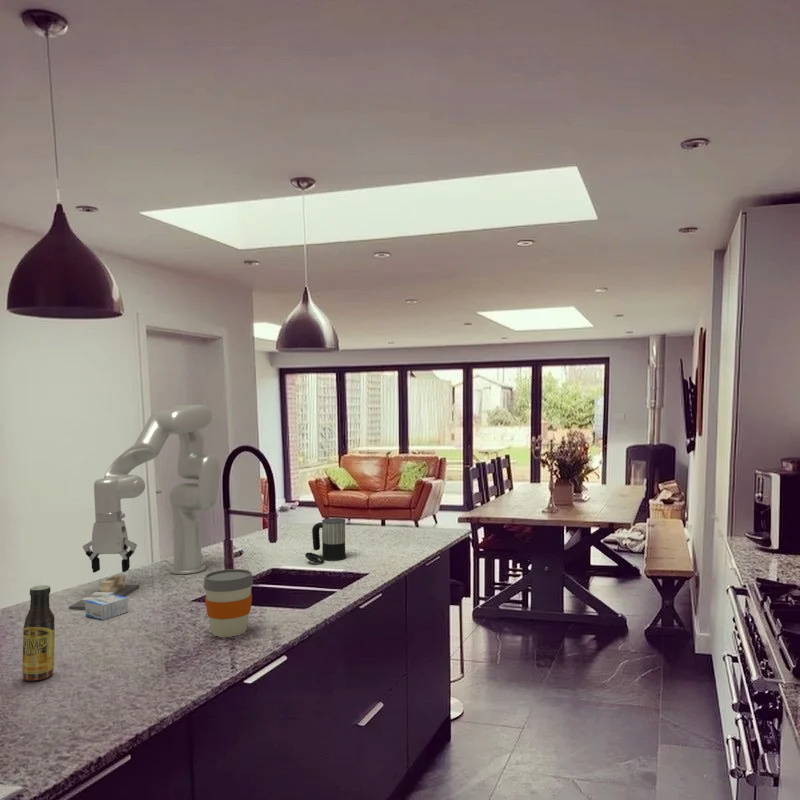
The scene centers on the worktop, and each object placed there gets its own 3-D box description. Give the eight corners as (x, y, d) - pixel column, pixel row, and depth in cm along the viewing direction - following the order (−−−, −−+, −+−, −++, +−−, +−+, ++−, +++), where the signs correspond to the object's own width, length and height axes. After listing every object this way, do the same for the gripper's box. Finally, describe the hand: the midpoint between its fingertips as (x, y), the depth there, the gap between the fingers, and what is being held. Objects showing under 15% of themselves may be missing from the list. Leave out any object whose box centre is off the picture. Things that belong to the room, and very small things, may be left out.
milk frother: (348, 555, 263) (348, 517, 263) (340, 565, 247) (339, 525, 247) (313, 555, 265) (312, 517, 265) (302, 565, 249) (301, 525, 249)
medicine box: (128, 596, 196) (102, 604, 189) (128, 612, 196) (102, 620, 189) (111, 593, 200) (84, 601, 193) (111, 608, 200) (84, 616, 193)
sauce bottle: (16, 683, 146) (15, 591, 147) (31, 671, 153) (29, 584, 153) (47, 681, 147) (46, 590, 147) (60, 670, 153) (59, 583, 153)
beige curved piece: (111, 587, 220) (111, 574, 220) (129, 587, 220) (129, 574, 220) (81, 603, 202) (81, 590, 202) (100, 603, 202) (100, 590, 202)
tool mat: (110, 587, 223) (110, 584, 223) (139, 587, 223) (139, 584, 223) (68, 610, 199) (68, 606, 199) (101, 610, 199) (101, 606, 199)
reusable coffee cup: (212, 624, 183) (210, 569, 183) (258, 623, 183) (257, 568, 183) (198, 640, 171) (197, 581, 171) (248, 639, 171) (247, 580, 171)
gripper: (140, 514, 216) (142, 567, 217) (88, 515, 218) (91, 568, 218) (128, 519, 209) (131, 574, 209) (75, 520, 210) (78, 574, 211)
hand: (110, 571), depth 214 cm, fingers open, 9 cm apart
